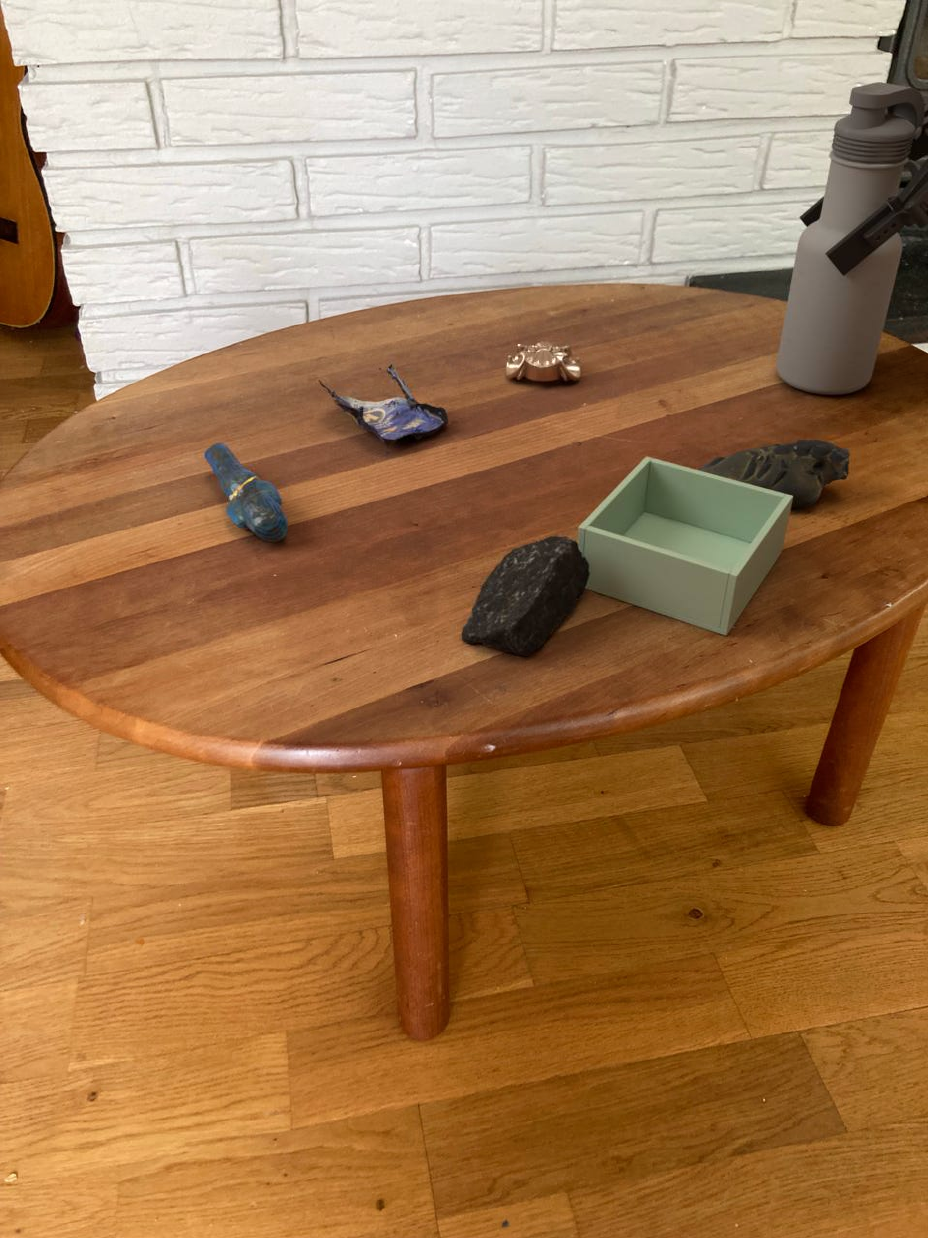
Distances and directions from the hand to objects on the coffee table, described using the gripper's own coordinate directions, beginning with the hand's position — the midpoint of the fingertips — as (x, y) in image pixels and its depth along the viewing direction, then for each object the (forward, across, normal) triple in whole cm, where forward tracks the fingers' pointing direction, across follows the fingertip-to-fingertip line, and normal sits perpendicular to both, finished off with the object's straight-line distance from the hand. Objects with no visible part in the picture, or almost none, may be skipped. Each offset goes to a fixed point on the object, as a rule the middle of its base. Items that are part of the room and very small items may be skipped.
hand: (820, 245), depth 102 cm
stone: (+16, +24, +5) cm, 29 cm away
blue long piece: (+48, +26, -28) cm, 62 cm away
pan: (+22, +35, -2) cm, 41 cm away
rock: (+31, +42, -10) cm, 53 cm away
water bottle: (+8, 0, +12) cm, 14 cm away
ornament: (+29, -1, -9) cm, 30 cm away
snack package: (+40, +11, -20) cm, 46 cm away
